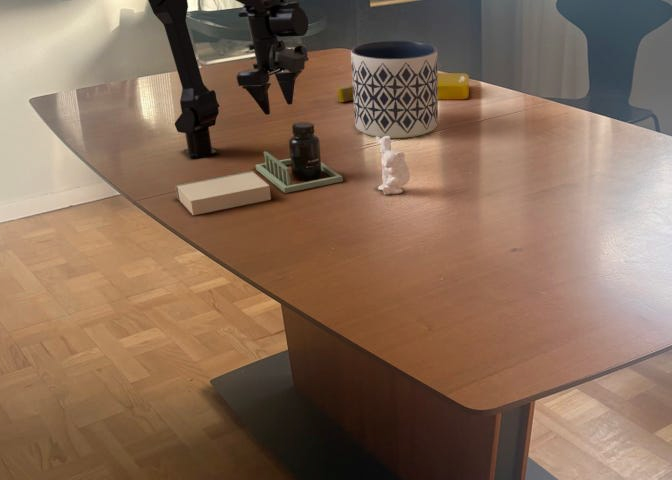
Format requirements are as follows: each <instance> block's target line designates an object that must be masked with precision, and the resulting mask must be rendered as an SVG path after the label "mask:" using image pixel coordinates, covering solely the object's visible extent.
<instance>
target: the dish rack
mask: <svg viewBox="0 0 672 480" xmlns="http://www.w3.org/2000/svg"><path fill="white" fill-rule="evenodd" d="M263 155H264V163H257V164H255V170H256V171H257V172H259V173H260V174H261V175H262V176H263V177H264V178H265V179H267V180H268V181H269V182H271V183H272V184H273V185H275V187H277V188H278V190H281V191H282V192H283V193H284V194H286V193H287V194H288V193H293V192H298V191H302V190H308V189H312V188H318V187H323V186H327V185H333V184H337V183H342V182H344V178H343V176H342V175H341V174H339V173H338V172H337V171H335V170H334V169H332V168H331V167H330V166H328V165H326V164H325V163H323V162H322V161H321V172H323V173H325V174H326V175H328V176H329V177H326V178H318V179H314V180H308V181H305V182H300V183H295V184H291V176H290V171H291V170H290V168H289V167H288V166H291V158H284V159H280V160H279V159H277V158H276V157H274V155H272V154H271V153H269V152H268V151H267V150H265V151H263Z"/></svg>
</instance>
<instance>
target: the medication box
mask: <svg viewBox="0 0 672 480" xmlns="http://www.w3.org/2000/svg"><path fill="white" fill-rule="evenodd" d="M336 93H337V102H339V103H346V102H351V101H354V99H353V84H351V85H346V86H342V87H337V88H336Z"/></svg>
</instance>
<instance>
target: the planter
mask: <svg viewBox="0 0 672 480" xmlns="http://www.w3.org/2000/svg"><path fill="white" fill-rule="evenodd" d="M350 61H351V82H352V85H353V99H354V100H353V114H354V125H355V128H356V129H357V131H359V132H360V133H363V134H365V135H367V136H371V137H375V138H376V137H377V136H379V137H380V138H383V137H384V136H390V139H406V138H415V137H419V136H423V135H426V134H429V133H430V132H432V131H434V130H435V129H436V128H437V127H438V125H439V100H438V73H439V71H438V69H439V68H438V67H439V66H438V64H439V63H438V47H436V46H435V45H433V44H431V43H428V42H423V41H417V40H416V41H415V40H400V39H399V40H398V39H397V40H396V39H394V40H393V39H391V40H377V41H369V42H364V43H360V44H357V45H355V46H353V47H352V48H351V50H350Z"/></svg>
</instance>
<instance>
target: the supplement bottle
mask: <svg viewBox="0 0 672 480" xmlns="http://www.w3.org/2000/svg"><path fill="white" fill-rule="evenodd" d="M291 127H292V134H293V135H292V136H291V137H290V138H289V141H288V143H289V144H288V145H289V157H290V158H291V165H290V169H291V170H290V171H291V176H292V177H293V179H295V180H298V181H314V180H318V179H320V177H321V176H322V170H321V162H322V160H321V158H322V157H321V145H320V143H321V142H320V139H319V137H318V136H317V135H316V134H315V124H314V123H313V122H309V121H299V122H294V123H293V124H292V126H291ZM290 158H289V159H290Z"/></svg>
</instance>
